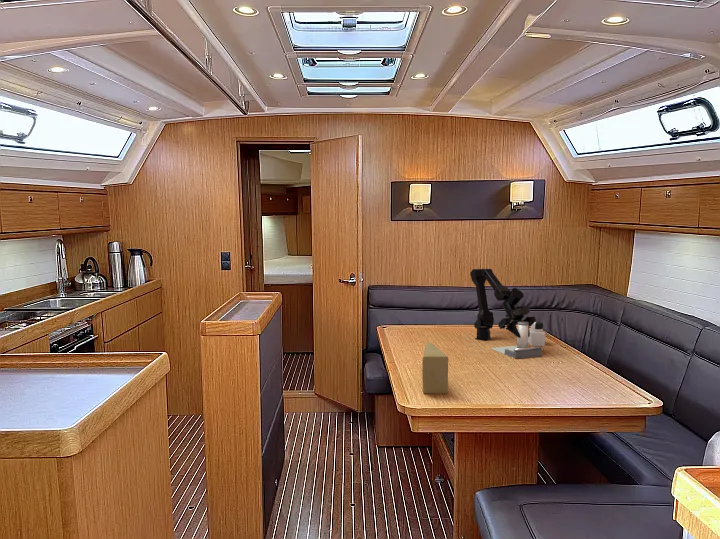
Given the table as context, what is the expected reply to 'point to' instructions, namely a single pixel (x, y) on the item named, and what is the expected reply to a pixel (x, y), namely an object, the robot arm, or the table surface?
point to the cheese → (434, 370)
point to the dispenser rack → (524, 352)
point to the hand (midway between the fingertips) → (524, 336)
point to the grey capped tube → (522, 335)
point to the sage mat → (502, 349)
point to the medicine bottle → (536, 335)
